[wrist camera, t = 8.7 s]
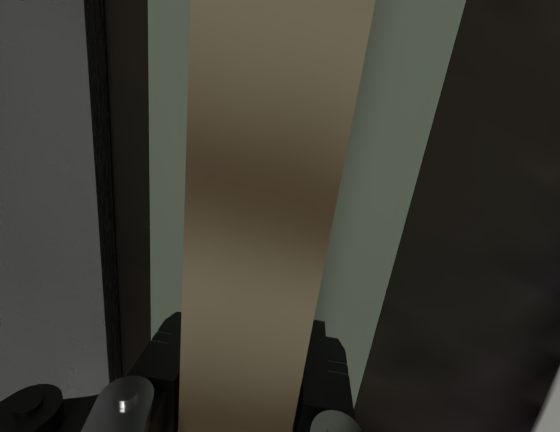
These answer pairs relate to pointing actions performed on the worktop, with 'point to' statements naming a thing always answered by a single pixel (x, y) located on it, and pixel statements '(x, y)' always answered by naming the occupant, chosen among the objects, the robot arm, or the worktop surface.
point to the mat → (356, 171)
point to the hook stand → (56, 200)
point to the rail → (260, 198)
